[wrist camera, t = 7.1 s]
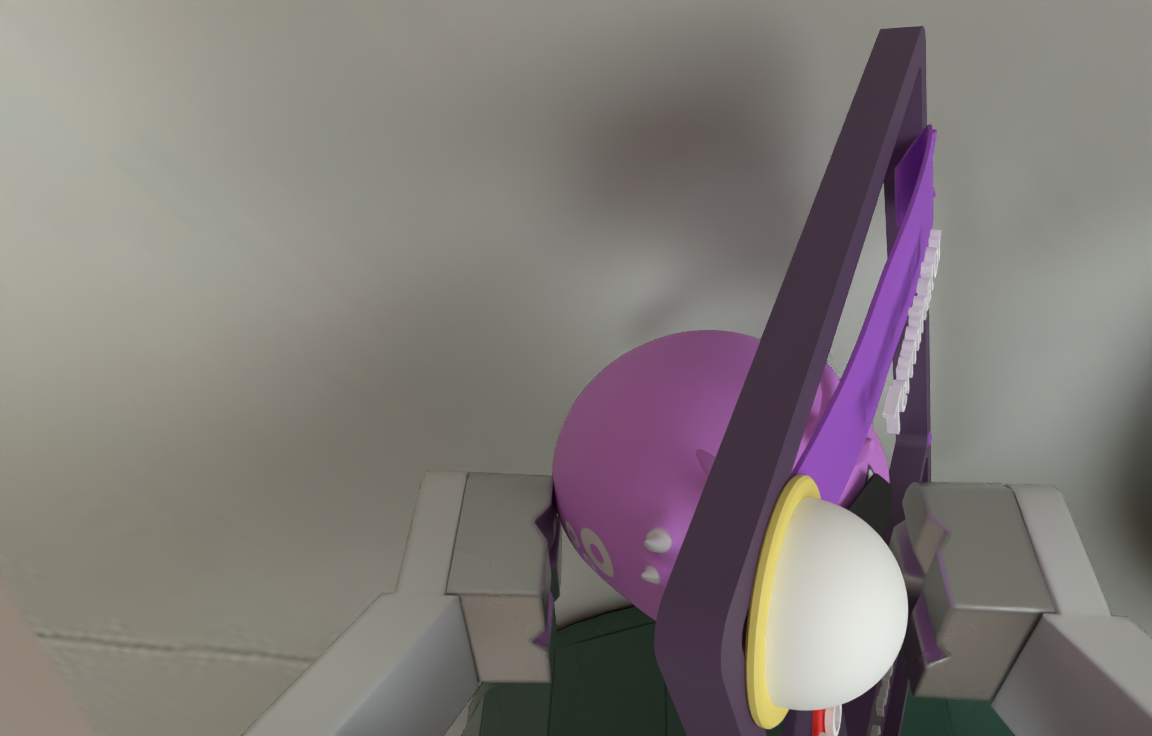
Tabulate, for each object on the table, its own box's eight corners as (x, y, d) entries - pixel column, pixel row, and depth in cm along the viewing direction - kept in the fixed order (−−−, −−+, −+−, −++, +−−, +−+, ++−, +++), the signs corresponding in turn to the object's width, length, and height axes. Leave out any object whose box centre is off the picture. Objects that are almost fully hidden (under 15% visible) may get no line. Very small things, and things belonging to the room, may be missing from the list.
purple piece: (910, 1079, 10) (868, 691, 4) (507, 909, 13) (121, 507, 7) (983, 570, 14) (1012, 9, 8) (667, 514, 17) (515, 44, 11)
